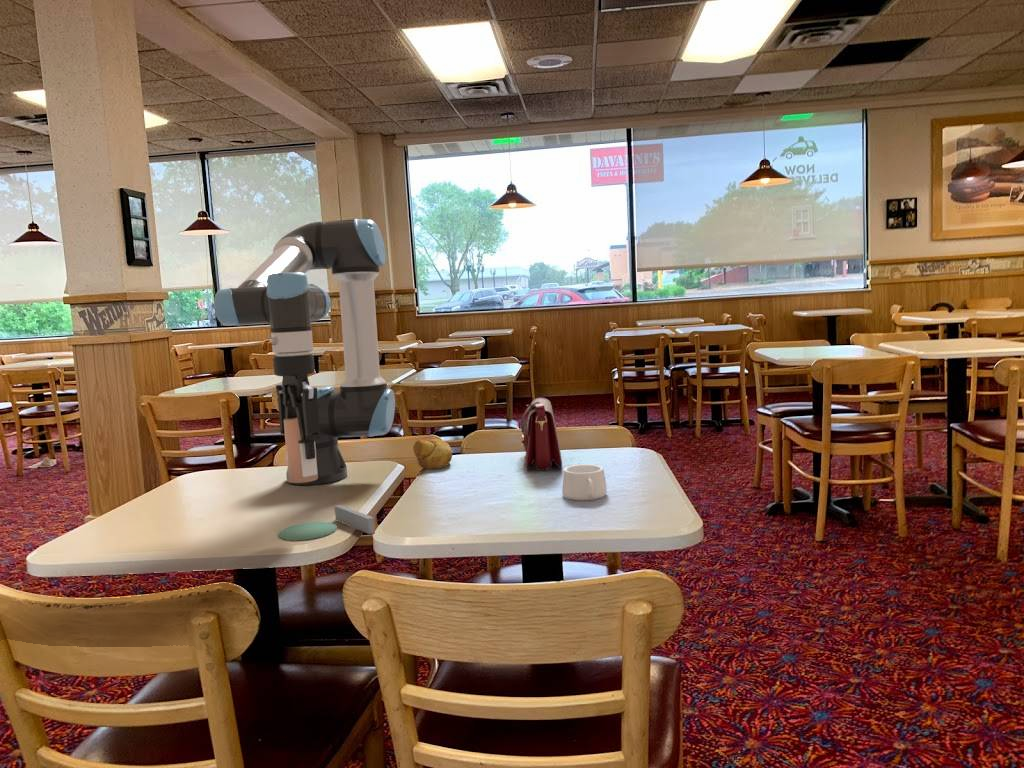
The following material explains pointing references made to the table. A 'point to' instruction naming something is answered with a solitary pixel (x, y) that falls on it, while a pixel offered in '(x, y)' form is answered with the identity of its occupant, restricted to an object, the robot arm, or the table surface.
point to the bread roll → (432, 453)
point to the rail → (355, 519)
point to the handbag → (540, 435)
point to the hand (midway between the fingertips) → (302, 472)
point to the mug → (584, 482)
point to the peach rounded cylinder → (295, 452)
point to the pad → (307, 530)
